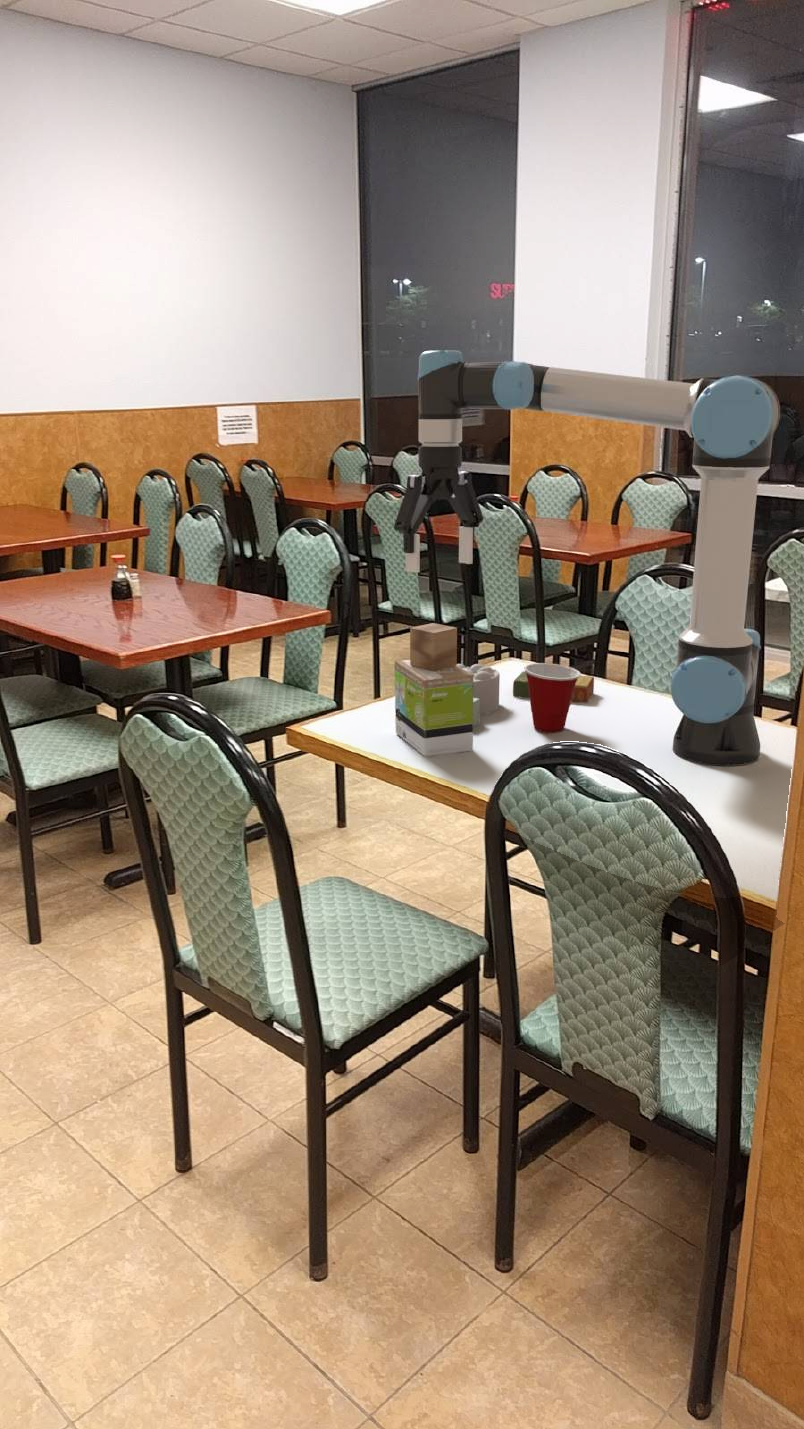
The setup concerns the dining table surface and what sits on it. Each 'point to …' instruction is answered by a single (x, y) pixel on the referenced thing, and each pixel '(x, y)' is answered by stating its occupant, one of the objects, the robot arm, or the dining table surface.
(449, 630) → the brown box
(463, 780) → the dining table surface
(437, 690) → the tea box
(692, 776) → the dining table surface
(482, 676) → the lumpy-topped squat cylinder
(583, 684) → the carton
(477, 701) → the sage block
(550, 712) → the plastic cup
